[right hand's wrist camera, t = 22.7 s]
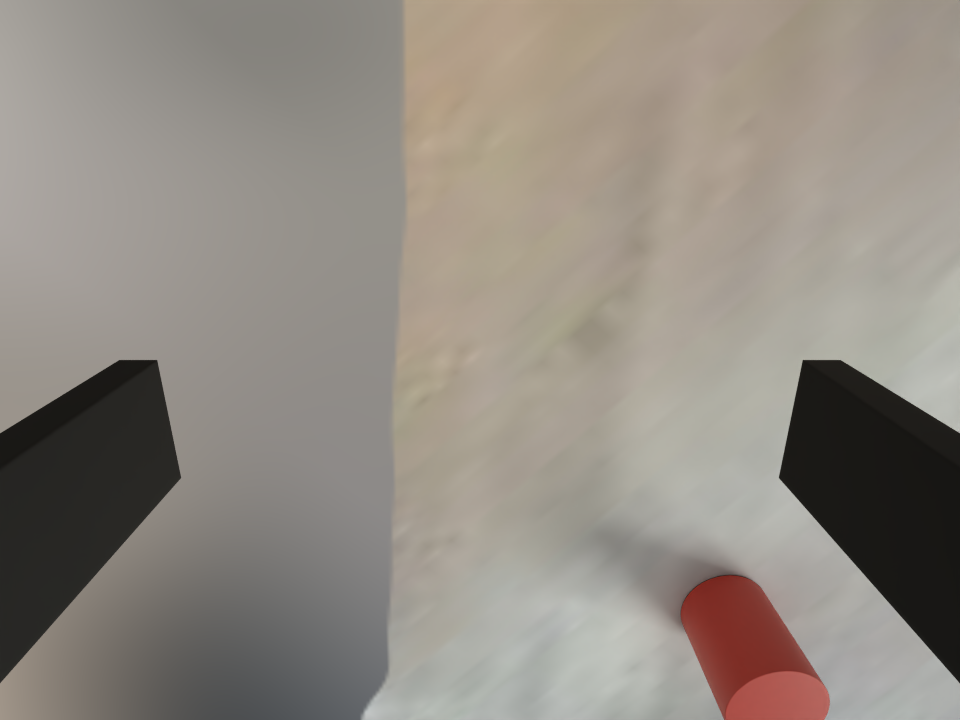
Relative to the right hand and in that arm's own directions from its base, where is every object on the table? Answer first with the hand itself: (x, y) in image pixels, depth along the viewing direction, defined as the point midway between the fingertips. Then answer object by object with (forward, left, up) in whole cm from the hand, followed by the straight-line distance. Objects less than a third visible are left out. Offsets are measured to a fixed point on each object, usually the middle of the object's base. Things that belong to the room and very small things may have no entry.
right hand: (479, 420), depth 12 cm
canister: (+30, +7, -22) cm, 38 cm away
